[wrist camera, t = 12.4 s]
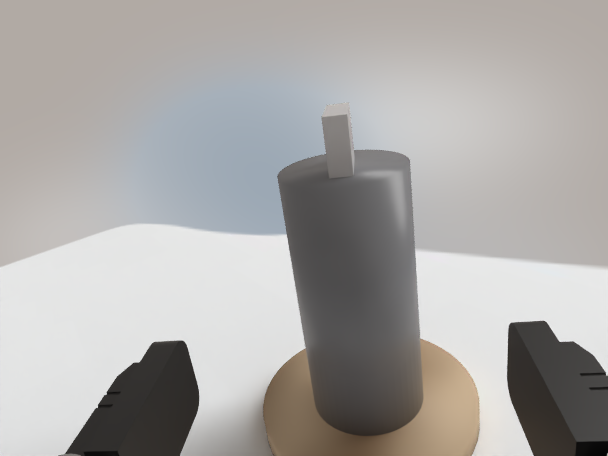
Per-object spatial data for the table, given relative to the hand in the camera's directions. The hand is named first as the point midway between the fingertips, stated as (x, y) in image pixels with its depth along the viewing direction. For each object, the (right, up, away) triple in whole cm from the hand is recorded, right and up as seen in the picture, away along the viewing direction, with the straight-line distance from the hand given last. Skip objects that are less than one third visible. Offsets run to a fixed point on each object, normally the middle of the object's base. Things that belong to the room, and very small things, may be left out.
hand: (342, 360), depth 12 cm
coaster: (+2, -5, +9) cm, 10 cm away
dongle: (+2, -4, +9) cm, 10 cm away
